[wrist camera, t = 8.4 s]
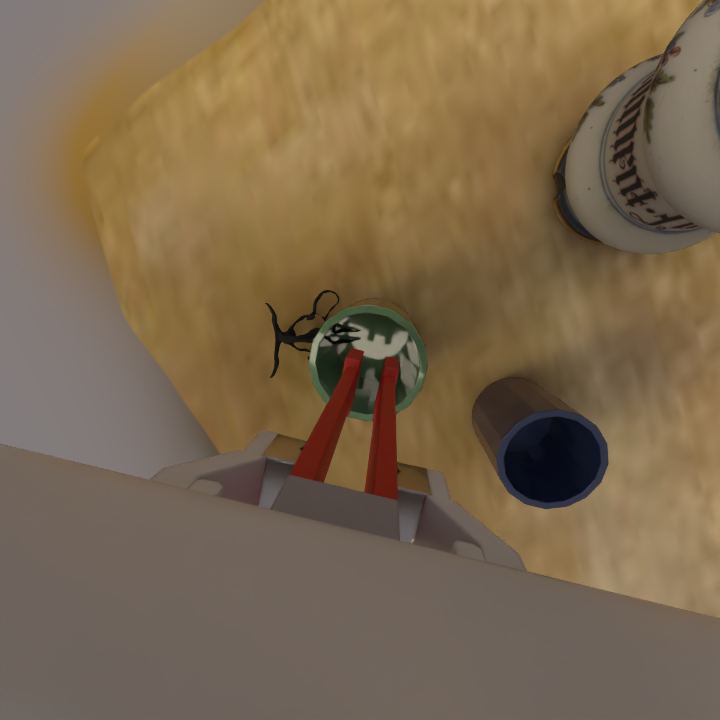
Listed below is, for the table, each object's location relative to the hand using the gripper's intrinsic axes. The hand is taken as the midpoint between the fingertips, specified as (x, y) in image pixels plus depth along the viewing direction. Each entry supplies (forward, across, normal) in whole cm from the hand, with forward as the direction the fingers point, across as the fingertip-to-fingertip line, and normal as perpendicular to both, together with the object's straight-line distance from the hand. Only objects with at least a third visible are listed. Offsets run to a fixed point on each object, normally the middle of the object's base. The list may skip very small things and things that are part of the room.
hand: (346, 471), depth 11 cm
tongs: (+12, 0, 0) cm, 12 cm away
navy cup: (+24, -14, +4) cm, 28 cm away
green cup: (+24, 0, 0) cm, 24 cm away
